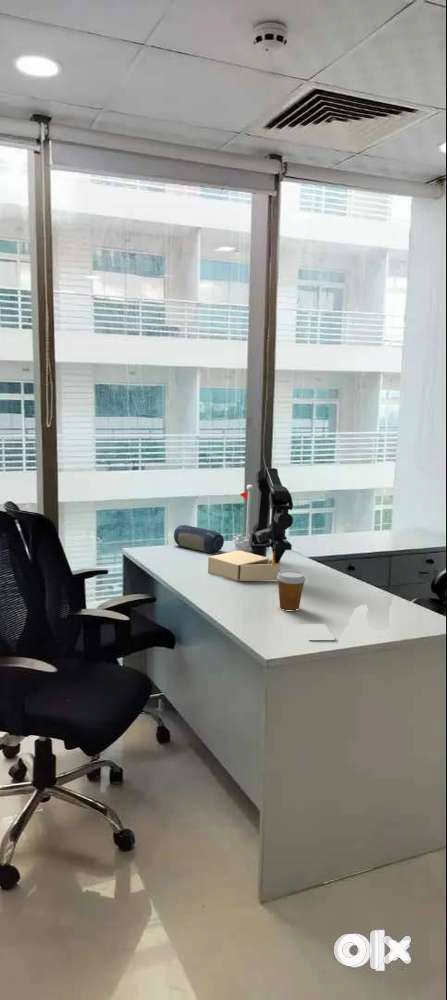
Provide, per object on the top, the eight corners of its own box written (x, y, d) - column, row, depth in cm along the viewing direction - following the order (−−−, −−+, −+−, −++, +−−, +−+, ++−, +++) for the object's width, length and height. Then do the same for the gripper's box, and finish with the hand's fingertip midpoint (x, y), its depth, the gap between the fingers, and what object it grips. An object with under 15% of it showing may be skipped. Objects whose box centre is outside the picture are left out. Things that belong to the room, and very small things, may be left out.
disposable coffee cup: (273, 604, 224) (274, 569, 222) (300, 604, 225) (302, 570, 223) (277, 613, 214) (279, 577, 213) (306, 613, 215) (308, 578, 213)
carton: (239, 565, 273) (240, 550, 272) (268, 574, 261) (269, 558, 260) (208, 572, 260) (208, 556, 259) (237, 581, 249) (237, 565, 248)
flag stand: (266, 548, 306) (269, 484, 301) (252, 553, 295) (255, 487, 290) (241, 544, 312) (244, 481, 307) (227, 549, 301) (230, 484, 296)
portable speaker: (169, 546, 302) (170, 525, 301) (183, 543, 310) (184, 522, 308) (211, 556, 287) (212, 533, 286) (225, 552, 295) (226, 530, 293)
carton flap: (278, 579, 253) (280, 552, 251) (279, 580, 252) (281, 553, 250) (239, 580, 249) (241, 553, 248) (240, 581, 248) (241, 553, 247)
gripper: (252, 517, 256) (250, 556, 258) (263, 528, 237) (261, 569, 240) (279, 517, 258) (277, 556, 260) (293, 528, 240) (290, 569, 242)
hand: (276, 562), depth 251 cm, fingers closed
